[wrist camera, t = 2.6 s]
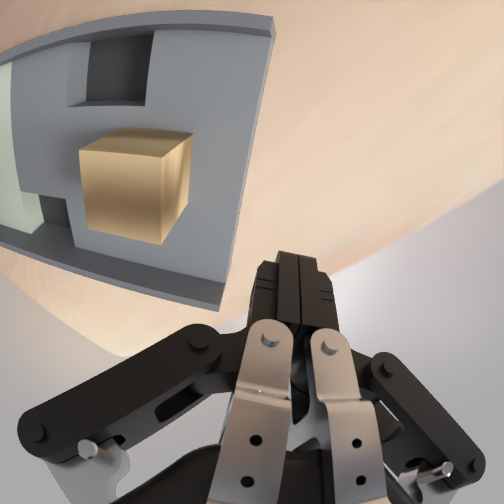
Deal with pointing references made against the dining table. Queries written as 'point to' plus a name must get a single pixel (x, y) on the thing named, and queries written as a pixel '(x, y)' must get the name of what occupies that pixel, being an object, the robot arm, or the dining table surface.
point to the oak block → (136, 182)
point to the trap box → (136, 116)
